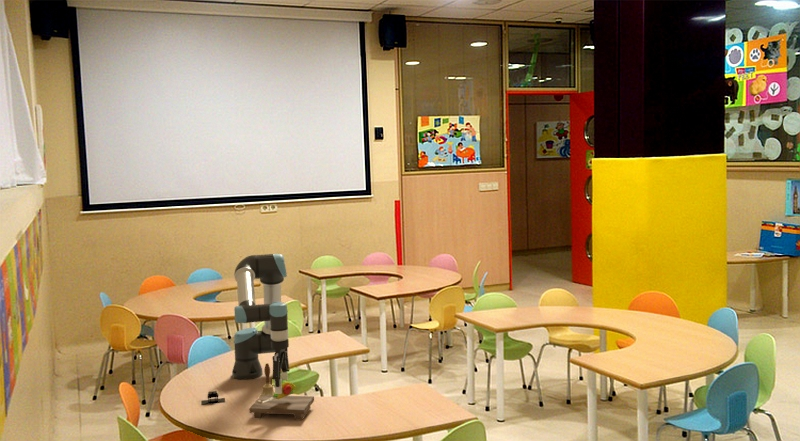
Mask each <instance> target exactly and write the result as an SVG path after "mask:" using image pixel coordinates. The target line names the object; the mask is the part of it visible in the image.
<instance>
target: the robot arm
mask: <svg viewBox="0 0 800 441" xmlns="http://www.w3.org/2000/svg"><path fill="white" fill-rule="evenodd" d="M233 275H234V280H235V281H236V285H237V286H236V288H237V300H238V304H237V305H236V306H234V308H233V309H234V311H233V312H234V322H235V323H236V324H248V323H249V324H251V323H259V322H263V323H264V324H263V325H262V326H261V330H258V329H257V328H256V327H247V328H243V329H240V330H237V331H236V332H235V333H234V335H233V344H234V362H233V364H234V365H233V368H232V371H231V376H232V378H233V379H237V380H252V379H256V378H259V377H261V376H262V375H263V367H262V365H261V362H260V359H259V355H261V354H273V353H274V355H273V356H272V377H271V378H272V380H274V392H275V394H282V383H281V381H282V380H285V381H288V382H289V378H288V377H289V375H288V372H290V365H289V364H290V363H289V354H288V352H289V351H288V348H289V346H290V343H289V326H288V323H289V320H288V311H289V310H288V305H287V303H286V302H282V284H283V282H284V281H285V278H287V277H288V274H287V268H286V263H285V258H284V255H283V254H282V253H267V254H266V253H265V254H252V255H247V256H246V257H245V258H243V259H242V260H241V261H239V263H238V264H237V265H236V267H235V270H234V274H233ZM254 280H259V282H260V283H261V284H263V287H262V289H263V304H262V303H261V304H260V303H259V304H256V295H255V286H254Z"/></svg>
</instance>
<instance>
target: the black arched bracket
mask: <svg viewBox="0 0 800 441" xmlns="http://www.w3.org/2000/svg"><path fill="white" fill-rule="evenodd" d="M206 396H207V399H205V400H203V399H202V400H200V403H201V406H206V405H212V404H213V405H215V404H221V403H222V404H224V403H226V398H225V397H222V398H221V397H219V393H218V391H217V390H215V391H213V390H211V391H208V393H207V395H206Z"/></svg>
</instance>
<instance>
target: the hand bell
mask: <svg viewBox="0 0 800 441" xmlns="http://www.w3.org/2000/svg"><path fill="white" fill-rule="evenodd" d="M263 371H264V375H265V384H264V385H263V386H262V391H261V393H260V395H259V397H260V396H261V395H273V394H274V393H275V389H274V387H273V386H274V385H272V384H271V382H270V374H271V368H270V364H269V363H265V366H264V370H263ZM259 397H258V398H259Z"/></svg>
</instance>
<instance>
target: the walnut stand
mask: <svg viewBox="0 0 800 441" xmlns="http://www.w3.org/2000/svg"><path fill="white" fill-rule="evenodd" d="M260 395H261V394H260ZM260 395H259V396H260ZM271 397H273V395H261V396H260V397H258V398H257V400H255V402H253V404H251V406H249V414H253V419H254V420H258V419H259V420H261V419H262V418H263V417H264V416H265V415H266V414H277V415H278V414H281V415H294V421H302V420H303V419H304V418H305V416H306V415H307V414H306V413H308V412H309V411H310V410H311V406H312V404H313V403H314V402H315V396H313V395H312V396H311V395H310V396H308V395H288V396H286V397H283V398H280V399H273V400H270V401H267V402H264V403H262V404H259V403H257V401H258V400H260V401H265V400H268V399H269V398H271ZM303 417H304V418H303Z"/></svg>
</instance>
